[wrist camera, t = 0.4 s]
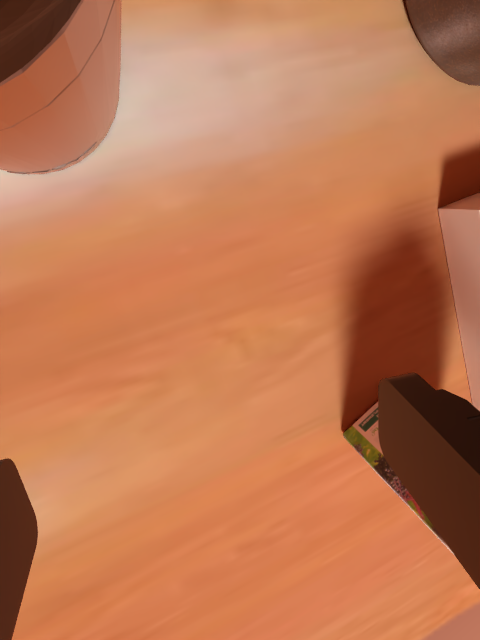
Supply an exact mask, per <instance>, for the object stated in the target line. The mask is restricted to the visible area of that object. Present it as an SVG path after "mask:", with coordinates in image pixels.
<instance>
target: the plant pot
mask: <svg viewBox="0 0 480 640" xmlns="http://www.w3.org/2000/svg"><path fill="white" fill-rule="evenodd" d="M405 2H406V6H407V10H408V14H409V17H410V20H411V23H412V26H413V29H414V31H415V33H416V35H417V37H418V39H419V41H420V43H421V45H422V46H423V48H424V50H425V51H426V52H427V54H428V55H429V56H430V58H431V59H432V60H433V61H434V62H435V63H436V64H437V65H438V66H439V67H440V68H441V69H442V70H443V71H444V72H445V73H447V74H448V75H449V76H451V77H452V78H454V79H456V80H457V81H460V82H463V83H465V84H468V85H478V86H480V0H405Z"/></svg>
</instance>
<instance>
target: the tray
mask: <svg viewBox="0 0 480 640" xmlns="http://www.w3.org/2000/svg"><path fill="white" fill-rule="evenodd" d="M438 212H439V217H440V223H441V229H442V234H443V240H444V246H445V251H446V257H447V263H448V268H449V274H450V280H451V285H452V291H453V297H454V302H455V308H456V314H457V319H458V325H459V331H460V336H461V342H462V348H463V353H464V359H465V365H466V370H467V376H468V382H469V387H470V393H471V399H472V404H473V406H474V407H475V408H477V409H478V410H479V411H480V192H479V193H477V194H474V195H472V196H469V197H467V198H464V199H461V200H459V201H456V202H454V203H451V204H449V205H446V206H444V207H441V208H438Z"/></svg>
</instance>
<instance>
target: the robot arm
mask: <svg viewBox="0 0 480 640" xmlns="http://www.w3.org/2000/svg"><path fill="white" fill-rule="evenodd" d="M120 61H121V0H0V169H1V170H5V171H7V172H10V173H18V174H45V173H50V172H55V171H59V170H63V169H65V168H67V167H70V166H72V165H74V164H76V163H78V162H80V161H81V160H83V159H84V158H85V157H87V156H88V155H89V154H90V153H92V152H93V151H94V150H95V149H96V148H97V147H98V145H99V144H100V143H101V142H102V140H103V139H104V138H105V137H106V135H107V133H108V131H109V129H110V127H111V125H112V122H113V120H114V118H115V114H116V110H117V105H118V101H119V83H120ZM378 436H379V443H380V447H381V450H382V453H383V455H384V457H385V459H386V461H387V463H388V464H389V466H390V467H391V468H392V470H393V471H394V472H395V474H396V475H397V477H398V478H399V479H400V481H401V482H402V483H403V485H404V486H405V488H406V489H407V490H408V492H409V493H410V494H411V496H412V497H413V499H414V500H415V501H416V503H417V504H418V505H419V507H420V508H421V510H422V511H423V512H424V514H425V515H426V516H427V518H428V519H429V521H430V522H431V523H432V525H433V526H434V527H435V529H436V530H437V532H438V533H439V534H440V536H441V537H442V538H443V540H444V541H445V542H446V544H447V545H448V547H449V548H450V549H451V551H452V552H453V553H454V555H455V556H456V558H457V559H458V560H459V562H460V563H461V564H462V566H463V567H464V569H465V570H466V571H467V573H468V574H469V575H470V577H471V578H472V580H473V581H474V582H475V584H476V585H477V586H478V588H479V589H480V411H479V410H478V409H477V408H475V407H474V406H473V405H472V404H471V403H469V402H468V401H467V400H466V399H463V398H461V397H459V396H457V395H455V394H452V393H450V392H448V391H446V390H443V389H441V390H437V391H436V390H435V389H434V388H433V387H431V386H430V385H429V384H428V383H427V382H426V381H425V380H424V379H422V378H421V377H420V376H419V375H418V374H416V373H409V374H404V375H399V376H395V377H390V378H385V379H382V380H381V381H380V382H379V386H378ZM37 537H38V529H37V520H36V516H35V513H34V510H33V507H32V505H31V503H30V500H29V498H28V495H27V493H26V490H25V488H24V485H23V483H22V480H21V478H20V475H19V473H18V470H17V468H16V466H15V464H14V462H13V461H12V460H11V459H3V460H0V640H12V636H13V632H14V628H15V624H16V621H17V617H18V613H19V609H20V606H21V602H22V598H23V594H24V590H25V587H26V583H27V579H28V575H29V572H30V568H31V564H32V560H33V556H34V553H35V549H36V545H37Z"/></svg>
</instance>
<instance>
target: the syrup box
mask: <svg viewBox="0 0 480 640" xmlns="http://www.w3.org/2000/svg"><path fill="white" fill-rule="evenodd" d="M343 436H344V438H345V439H346V440H347V441H348V442H349V443H350V444H351V445H352V447H353V448H354V449H355V450H356V451H357V452H358V453H359V454H360V455H361V456H362V458H363V459H364V460H365V461H366V462H367V463H368V464H369V465H370V466H371V467H372V469H373V470H374V471H375V472H376V473H377V474H378V475H379V476H380V477H381V478H382V479H383V480H384V481H385V482H386V484H387V485H388V486H389V487H390V488H391V489H392V490H393V491H394V492H395V493H396V494H397V495H398V496H399V497H400V498H401V499H402V500H403V502H404V503H405V504H406V505H407V506H408V507H409V508H410V509H411V510H412V511H413V512H414V513H415V514H416V515H417V516H418V517H419V518H420V519H421V520H422V521H423V523H424V524H425V525H426V526H427V527H428V528H429V529H430V530H431V531H432V532H433V533H434V534H435V535H436V536H437V538H438V539H439V540H440V541H441V542H442V543H443V544H444V545H445V546H446V547H447V548H448V549H449V550H450V551H451V549H450V548H449V547H448V545H447V544H446V542H445V541H444V540H443V538H442V537H441V536H440V534H439V533H438V532H437V530H436V529H435V527H434V526H433V525H432V523H431V522H430V521H429V519H428V518H427V516H426V515H425V514H424V512H423V511H422V510H421V508H420V507H419V505H418V504H417V503H416V501H415V500H414V499H413V497H412V496H411V494H410V493H409V492H408V490H407V489H406V488H405V486H404V485H403V483H402V482H401V481H400V479H399V478H398V477H397V475H396V474H395V472H394V471H393V470H392V468H391V467H390V466H389V464H388V463H387V461H386V459H385V457H384V455H383V453H382V450H381V447H380V443H379V436H378V402H377V403H376V404H375V405H373V406H372V407H371V408H370V409H369V410H368V411H367V412H366V413H365V414H364V415H363V416H362V417H360V418H359V419H358V420H357V421H356V422H355V423H354V424H353V425H352V426H351V427H350V428H349V429H347V430H346V431H345V432H344V433H343ZM451 552H452V551H451ZM452 553H453V552H452ZM453 554H454V553H453Z"/></svg>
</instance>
